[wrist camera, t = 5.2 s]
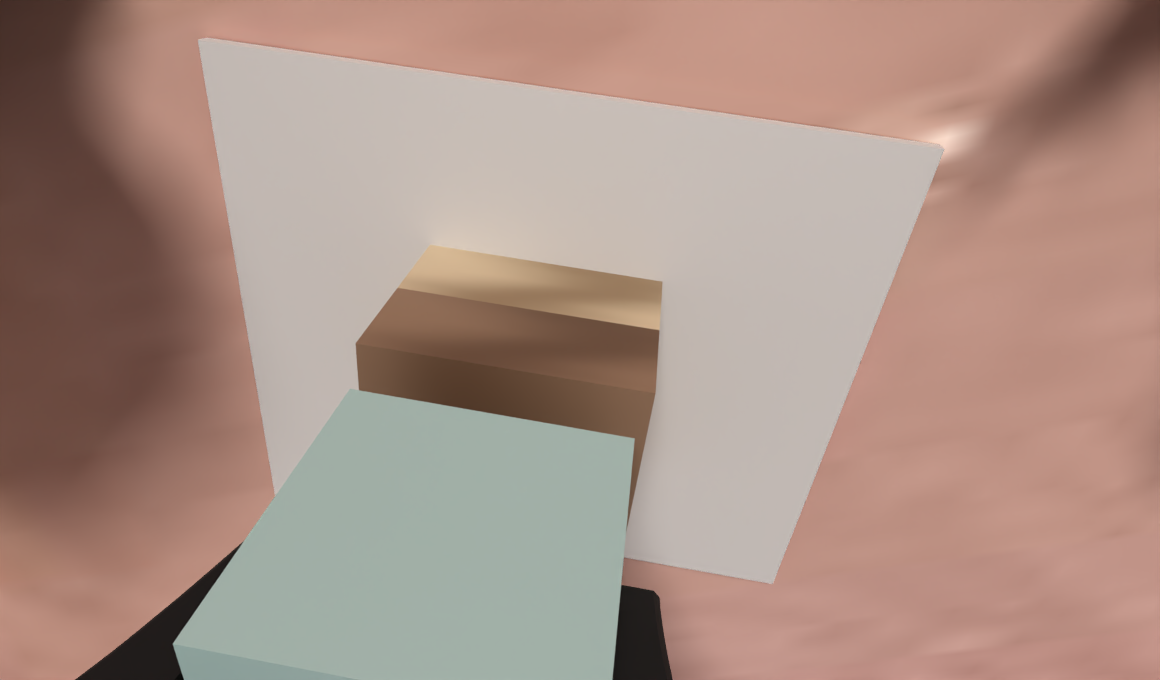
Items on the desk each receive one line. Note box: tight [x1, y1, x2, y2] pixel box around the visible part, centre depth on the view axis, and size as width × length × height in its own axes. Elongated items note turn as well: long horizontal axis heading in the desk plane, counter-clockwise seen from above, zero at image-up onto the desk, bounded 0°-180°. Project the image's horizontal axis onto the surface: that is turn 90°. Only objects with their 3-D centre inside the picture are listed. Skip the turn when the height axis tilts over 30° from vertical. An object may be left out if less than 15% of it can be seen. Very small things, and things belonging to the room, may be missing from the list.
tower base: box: [398, 245, 662, 330], centre depth 15 cm, size 5×5×2 cm
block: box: [173, 389, 635, 680], centre depth 10 cm, size 4×4×4 cm
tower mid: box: [355, 288, 659, 531], centre depth 14 cm, size 5×5×2 cm
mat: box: [198, 38, 944, 584], centre depth 16 cm, size 14×12×1 cm
